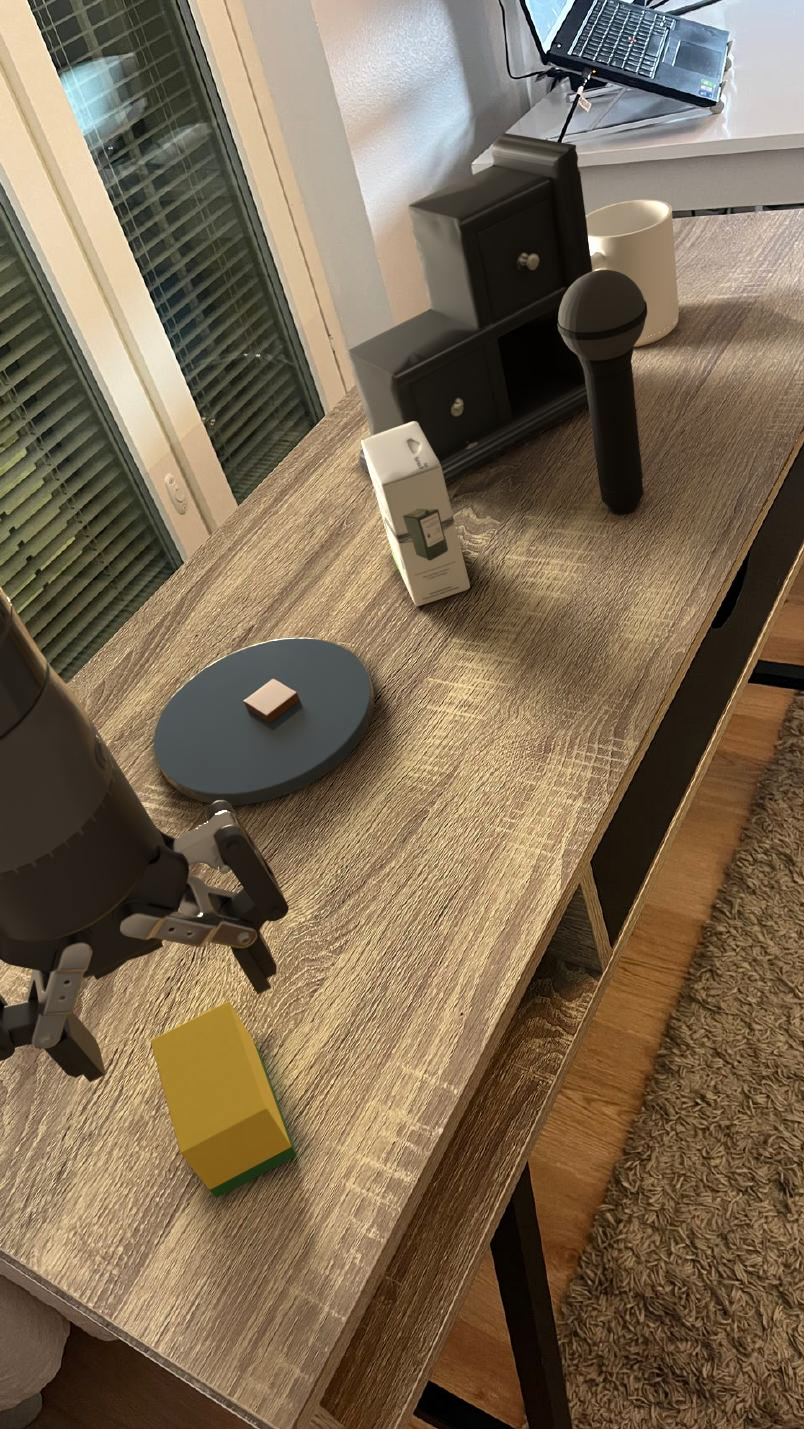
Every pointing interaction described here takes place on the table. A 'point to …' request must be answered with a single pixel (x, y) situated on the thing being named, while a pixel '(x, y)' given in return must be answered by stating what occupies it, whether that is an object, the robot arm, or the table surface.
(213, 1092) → the sponge
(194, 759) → the plate
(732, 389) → the table surface
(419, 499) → the ink box
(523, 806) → the table surface
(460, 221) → the small black cabinet
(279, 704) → the orange brown flat block
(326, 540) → the table surface
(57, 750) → the robot arm
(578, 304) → the microphone
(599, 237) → the mug
